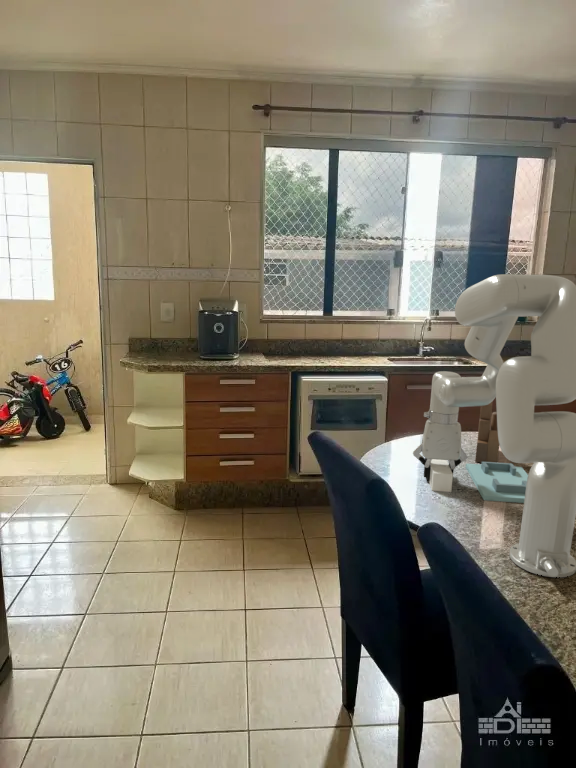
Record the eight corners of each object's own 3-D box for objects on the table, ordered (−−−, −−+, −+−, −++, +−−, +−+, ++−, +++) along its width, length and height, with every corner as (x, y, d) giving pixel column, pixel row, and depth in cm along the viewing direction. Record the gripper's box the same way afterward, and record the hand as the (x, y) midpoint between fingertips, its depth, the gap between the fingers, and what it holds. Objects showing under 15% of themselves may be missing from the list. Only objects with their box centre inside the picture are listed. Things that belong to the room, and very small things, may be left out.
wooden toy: (498, 465, 171) (507, 384, 166) (475, 462, 173) (483, 382, 168) (498, 450, 185) (506, 375, 180) (476, 447, 188) (484, 373, 182)
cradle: (548, 504, 144) (550, 492, 143) (483, 500, 145) (485, 488, 145) (520, 470, 167) (522, 460, 166) (465, 467, 169) (466, 457, 168)
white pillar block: (451, 492, 150) (453, 473, 149) (431, 490, 150) (433, 472, 149) (443, 472, 164) (444, 456, 162) (425, 471, 164) (426, 455, 163)
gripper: (413, 419, 150) (408, 483, 154) (478, 423, 149) (472, 487, 152) (410, 412, 158) (405, 473, 161) (472, 415, 156) (466, 477, 160)
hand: (437, 479), depth 157 cm, fingers closed on white pillar block, 5 cm apart
